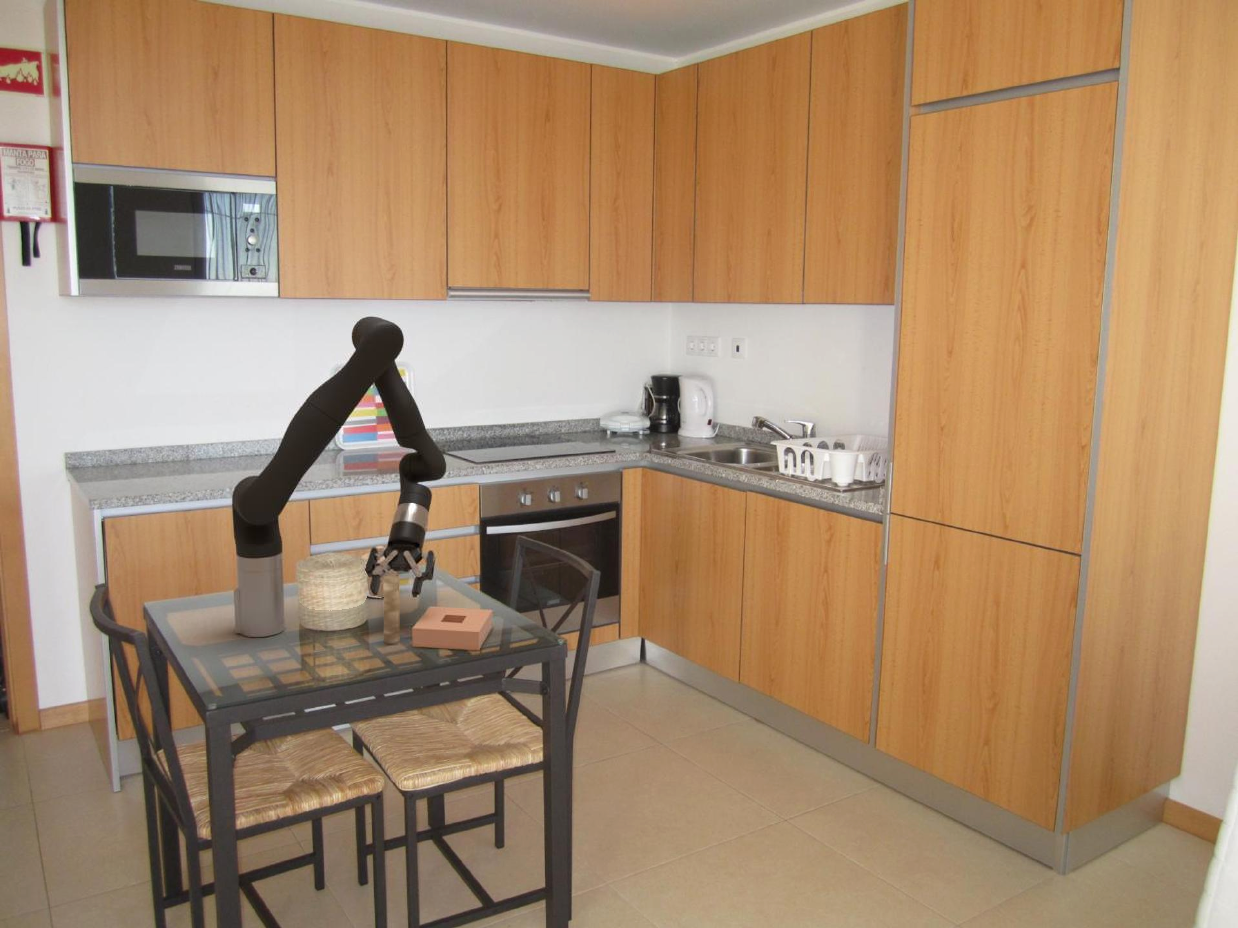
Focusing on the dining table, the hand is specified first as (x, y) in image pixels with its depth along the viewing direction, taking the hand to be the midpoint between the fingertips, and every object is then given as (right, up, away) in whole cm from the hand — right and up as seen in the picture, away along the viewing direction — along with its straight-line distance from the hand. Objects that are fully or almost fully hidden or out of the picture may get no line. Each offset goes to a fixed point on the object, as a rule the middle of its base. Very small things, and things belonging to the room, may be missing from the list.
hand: (394, 594), depth 214 cm
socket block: (+12, -10, +4) cm, 16 cm away
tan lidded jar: (-11, -4, +32) cm, 34 cm away
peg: (0, -10, 0) cm, 10 cm away
